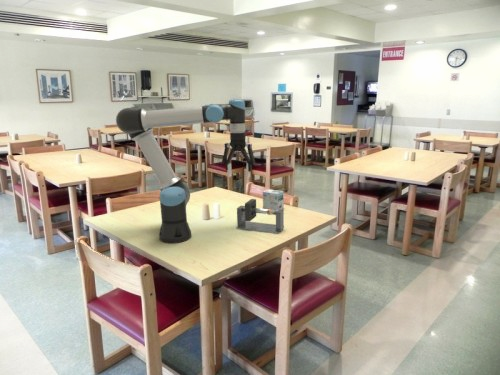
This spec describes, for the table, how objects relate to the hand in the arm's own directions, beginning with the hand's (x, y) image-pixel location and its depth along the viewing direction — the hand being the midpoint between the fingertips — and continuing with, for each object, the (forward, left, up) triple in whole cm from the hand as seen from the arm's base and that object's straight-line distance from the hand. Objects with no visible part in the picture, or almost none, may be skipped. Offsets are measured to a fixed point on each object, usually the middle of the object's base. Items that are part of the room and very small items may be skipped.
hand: (239, 177), depth 186 cm
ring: (+6, 0, -21) cm, 22 cm away
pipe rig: (+11, 0, -26) cm, 28 cm away
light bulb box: (+7, +33, -26) cm, 42 cm away
